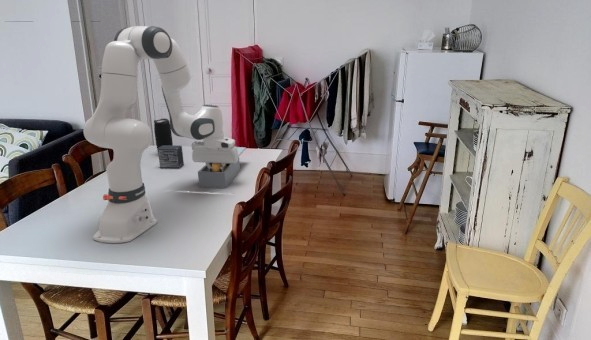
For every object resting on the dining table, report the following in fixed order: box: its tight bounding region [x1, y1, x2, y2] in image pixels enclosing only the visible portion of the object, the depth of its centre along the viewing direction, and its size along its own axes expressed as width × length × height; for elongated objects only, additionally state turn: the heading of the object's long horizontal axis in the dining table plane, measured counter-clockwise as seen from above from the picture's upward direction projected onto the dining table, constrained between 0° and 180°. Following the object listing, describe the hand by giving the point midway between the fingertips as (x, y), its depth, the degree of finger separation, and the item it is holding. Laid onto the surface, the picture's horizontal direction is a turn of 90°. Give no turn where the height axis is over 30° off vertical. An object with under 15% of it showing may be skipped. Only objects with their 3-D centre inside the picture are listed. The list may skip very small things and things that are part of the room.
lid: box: [236, 146, 247, 158], centre depth 196 cm, size 22×12×4 cm, turn 171°
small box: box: [157, 145, 185, 170], centre depth 206 cm, size 11×6×10 cm, turn 84°
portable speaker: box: [153, 118, 174, 152], centre depth 223 cm, size 9×9×20 cm
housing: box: [197, 156, 241, 189], centre depth 187 cm, size 22×12×8 cm, turn 171°
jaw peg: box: [212, 163, 220, 172], centre depth 182 cm, size 4×4×6 cm
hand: (216, 171), depth 182 cm, fingers closed on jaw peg, 4 cm apart
